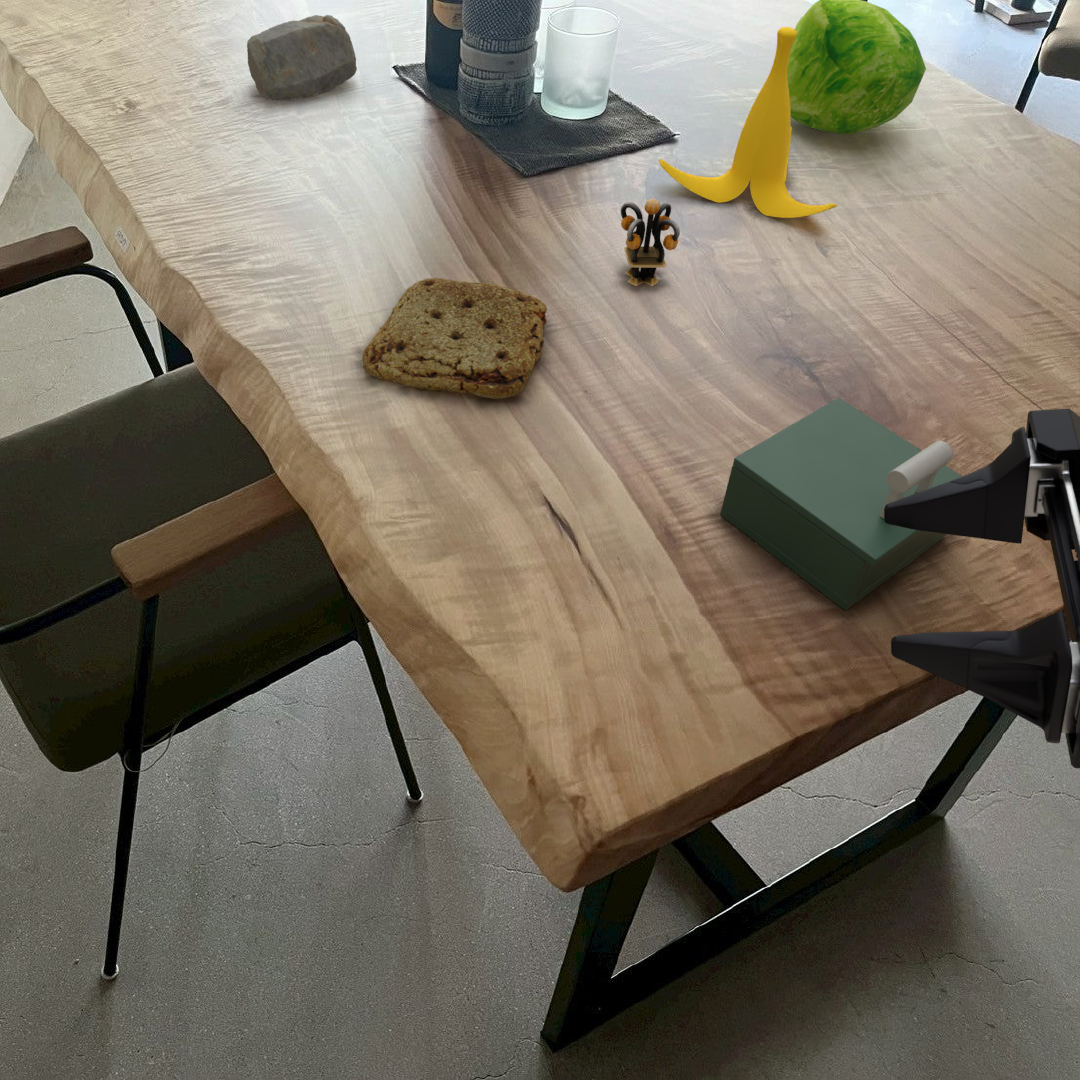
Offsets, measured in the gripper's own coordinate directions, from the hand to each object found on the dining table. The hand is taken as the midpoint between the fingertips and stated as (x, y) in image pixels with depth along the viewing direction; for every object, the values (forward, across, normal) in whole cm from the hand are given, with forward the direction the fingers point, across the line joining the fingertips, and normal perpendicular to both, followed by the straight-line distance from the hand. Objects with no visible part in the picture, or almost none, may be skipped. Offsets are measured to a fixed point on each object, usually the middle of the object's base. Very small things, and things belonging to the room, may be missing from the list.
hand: (887, 576), depth 52 cm
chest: (+3, -19, +15) cm, 24 cm away
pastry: (+34, -34, +6) cm, 48 cm away
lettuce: (+3, -90, +15) cm, 92 cm away
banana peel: (+10, -68, +13) cm, 70 cm away
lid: (+2, -19, +10) cm, 22 cm away
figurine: (+20, -49, +10) cm, 54 cm away
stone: (+63, -80, -3) cm, 101 cm away
